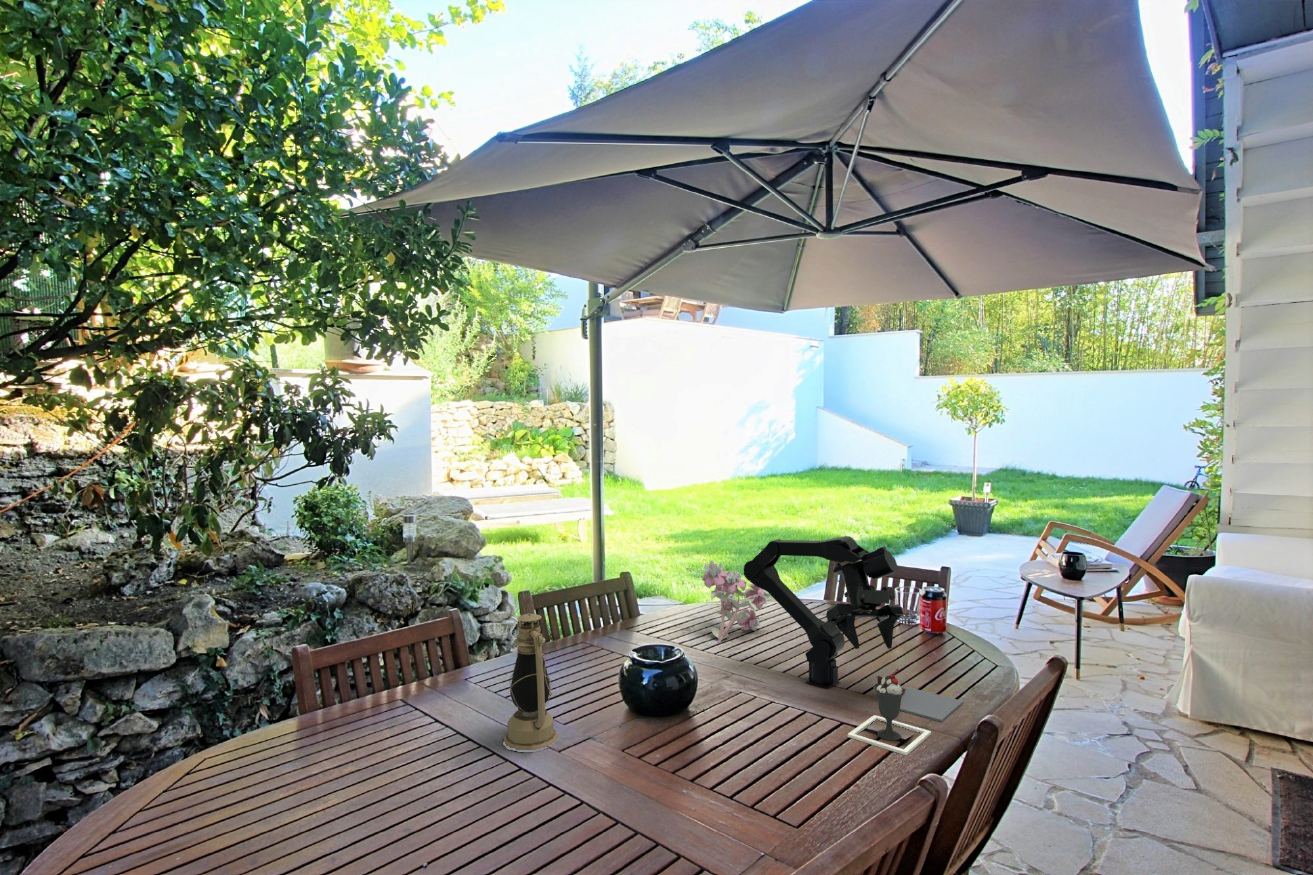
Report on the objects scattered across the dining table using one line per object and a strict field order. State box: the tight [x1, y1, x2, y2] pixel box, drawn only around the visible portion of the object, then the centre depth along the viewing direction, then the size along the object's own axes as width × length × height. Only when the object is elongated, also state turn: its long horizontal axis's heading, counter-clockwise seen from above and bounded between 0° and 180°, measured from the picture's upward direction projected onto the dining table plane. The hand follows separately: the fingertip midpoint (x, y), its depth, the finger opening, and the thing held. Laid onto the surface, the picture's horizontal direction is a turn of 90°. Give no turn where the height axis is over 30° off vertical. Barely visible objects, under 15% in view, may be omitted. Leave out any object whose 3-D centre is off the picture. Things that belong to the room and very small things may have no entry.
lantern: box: [503, 600, 558, 750], centre depth 156 cm, size 14×12×30 cm
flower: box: [701, 559, 772, 643], centre depth 228 cm, size 20×22×25 cm
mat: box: [900, 686, 964, 723], centre depth 174 cm, size 14×14×1 cm
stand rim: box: [847, 714, 932, 756], centre depth 157 cm, size 13×13×1 cm
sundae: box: [872, 668, 906, 741], centre depth 157 cm, size 7×7×15 cm
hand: (873, 648), depth 173 cm, fingers open, 9 cm apart
